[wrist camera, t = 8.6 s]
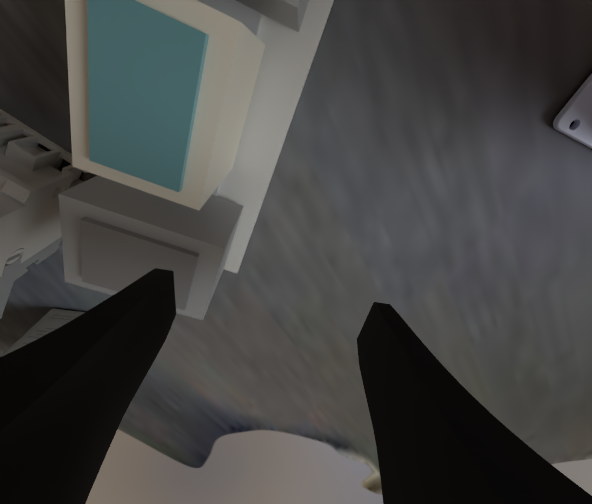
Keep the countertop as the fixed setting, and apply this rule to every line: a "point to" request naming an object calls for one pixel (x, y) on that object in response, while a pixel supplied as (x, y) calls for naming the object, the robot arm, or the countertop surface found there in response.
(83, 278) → the rail board
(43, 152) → the circuit breaker
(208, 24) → the block
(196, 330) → the countertop surface
